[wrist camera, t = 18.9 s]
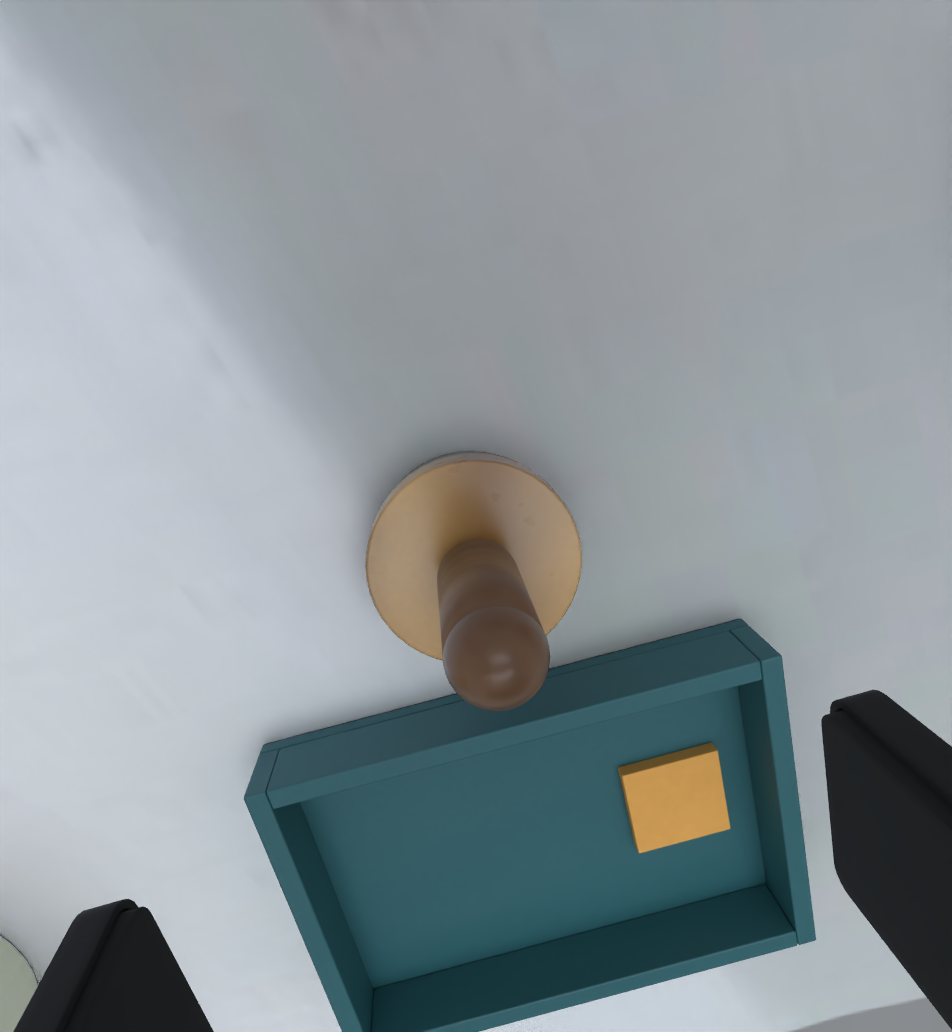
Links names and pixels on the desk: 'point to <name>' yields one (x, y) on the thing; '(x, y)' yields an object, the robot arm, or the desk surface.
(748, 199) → the desk surface
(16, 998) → the reusable coffee cup
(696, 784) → the orange flat square block
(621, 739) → the tray
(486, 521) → the stamp
